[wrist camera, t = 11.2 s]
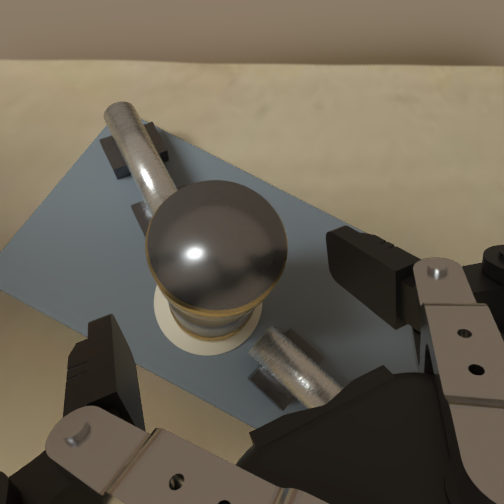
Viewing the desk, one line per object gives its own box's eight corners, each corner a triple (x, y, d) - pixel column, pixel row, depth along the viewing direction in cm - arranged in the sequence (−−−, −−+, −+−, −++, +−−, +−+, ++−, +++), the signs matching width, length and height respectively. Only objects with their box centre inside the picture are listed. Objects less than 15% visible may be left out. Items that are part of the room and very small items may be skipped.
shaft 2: (232, 367, 21) (239, 364, 18) (271, 322, 23) (285, 310, 19) (350, 479, 20) (386, 503, 16) (385, 425, 21) (426, 436, 17)
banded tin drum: (160, 332, 20) (123, 293, 11) (183, 254, 22) (168, 163, 13) (243, 351, 21) (275, 327, 11) (259, 272, 22) (298, 195, 13)
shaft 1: (209, 242, 24) (210, 214, 20) (157, 264, 23) (148, 241, 19) (153, 136, 26) (144, 93, 22) (104, 153, 25) (86, 112, 21)
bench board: (-12, 282, 21) (-24, 277, 20) (123, 118, 26) (120, 106, 25) (370, 489, 20) (380, 496, 19) (436, 277, 25) (447, 272, 24)
